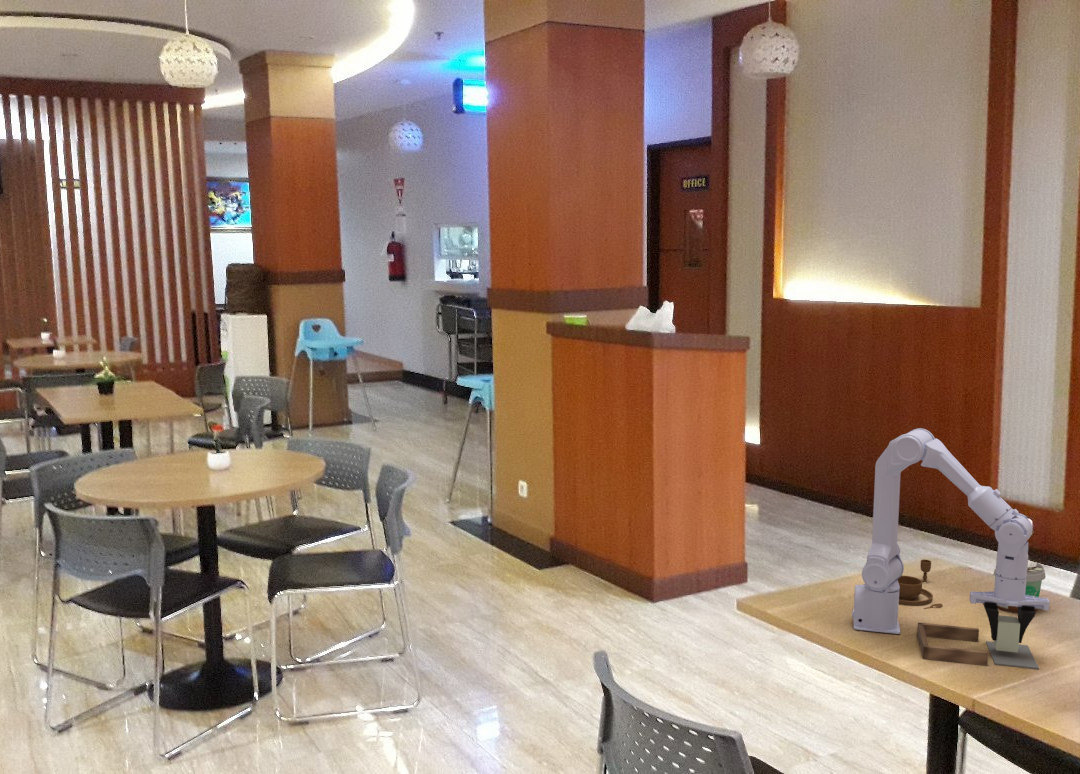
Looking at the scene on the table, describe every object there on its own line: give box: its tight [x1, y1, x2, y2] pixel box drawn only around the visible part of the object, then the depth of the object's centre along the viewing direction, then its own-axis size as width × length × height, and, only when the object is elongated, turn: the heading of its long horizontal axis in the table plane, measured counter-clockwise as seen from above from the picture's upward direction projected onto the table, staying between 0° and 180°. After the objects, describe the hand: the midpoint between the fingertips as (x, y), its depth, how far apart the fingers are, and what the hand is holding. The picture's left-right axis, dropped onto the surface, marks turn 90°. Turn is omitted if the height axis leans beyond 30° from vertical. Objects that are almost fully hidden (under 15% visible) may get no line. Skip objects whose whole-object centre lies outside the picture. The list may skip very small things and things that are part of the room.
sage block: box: [992, 614, 1020, 653], centre depth 207 cm, size 4×4×6 cm
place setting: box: [898, 559, 943, 610], centre depth 243 cm, size 18×20×6 cm
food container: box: [992, 562, 1046, 615], centre depth 233 cm, size 12×6×10 cm, turn 105°
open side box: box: [916, 622, 989, 666], centre depth 211 cm, size 12×14×2 cm
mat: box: [985, 640, 1040, 670], centre depth 208 cm, size 8×12×1 cm, turn 165°
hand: (1006, 640), depth 208 cm, fingers closed on sage block, 4 cm apart
